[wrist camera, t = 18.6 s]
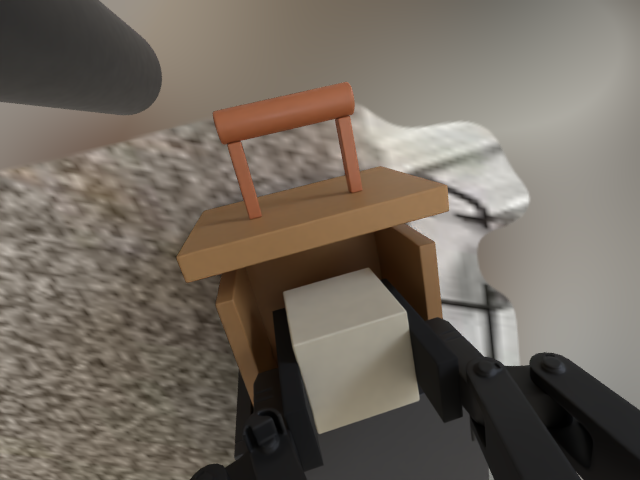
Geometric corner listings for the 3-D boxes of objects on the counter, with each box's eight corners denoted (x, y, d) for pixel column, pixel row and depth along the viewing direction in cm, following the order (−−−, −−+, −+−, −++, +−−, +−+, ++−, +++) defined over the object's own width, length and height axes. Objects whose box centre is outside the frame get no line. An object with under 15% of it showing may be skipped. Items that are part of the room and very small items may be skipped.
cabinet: (240, 336, 24) (233, 457, 15) (402, 287, 26) (484, 373, 17) (289, 472, 29) (305, 623, 20) (422, 425, 31) (493, 548, 22)
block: (282, 291, 17) (291, 346, 12) (368, 266, 17) (407, 311, 13) (303, 364, 18) (318, 435, 14) (382, 339, 19) (420, 401, 14)
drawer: (173, 126, 18) (121, 124, 11) (368, 83, 20) (437, 55, 12) (263, 383, 25) (267, 489, 17) (406, 338, 26) (466, 418, 19)
